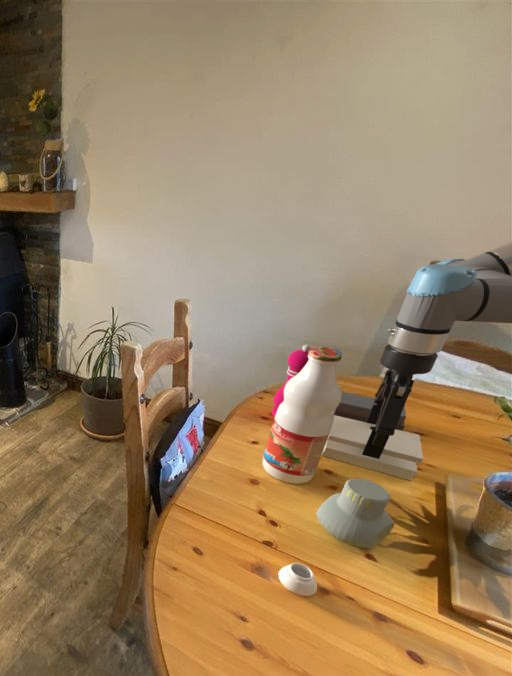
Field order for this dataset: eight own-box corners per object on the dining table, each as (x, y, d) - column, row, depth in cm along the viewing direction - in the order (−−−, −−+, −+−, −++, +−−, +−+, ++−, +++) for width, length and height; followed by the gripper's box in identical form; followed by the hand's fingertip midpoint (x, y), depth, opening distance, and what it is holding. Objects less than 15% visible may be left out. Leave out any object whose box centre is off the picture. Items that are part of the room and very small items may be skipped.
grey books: (399, 421, 102) (407, 404, 100) (400, 435, 98) (409, 417, 95) (333, 406, 110) (339, 390, 108) (331, 419, 105) (338, 402, 103)
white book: (417, 439, 88) (419, 434, 88) (421, 464, 82) (423, 459, 81) (330, 418, 97) (332, 414, 96) (327, 439, 90) (329, 435, 90)
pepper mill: (300, 411, 109) (323, 340, 99) (304, 426, 103) (329, 352, 94) (268, 407, 112) (287, 337, 102) (271, 420, 106) (291, 348, 97)
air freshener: (357, 561, 69) (379, 517, 64) (305, 528, 75) (322, 486, 71) (392, 535, 73) (415, 492, 68) (340, 506, 80) (357, 464, 75)
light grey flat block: (410, 459, 90) (414, 450, 89) (412, 481, 84) (417, 471, 83) (324, 437, 99) (327, 429, 97) (321, 455, 93) (324, 447, 92)
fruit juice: (322, 486, 84) (371, 362, 71) (271, 484, 86) (310, 361, 73) (299, 457, 93) (340, 341, 80) (254, 455, 94) (286, 341, 81)
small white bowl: (278, 589, 65) (317, 602, 63) (283, 577, 64) (323, 590, 62) (277, 565, 69) (314, 577, 67) (282, 553, 68) (319, 564, 65)
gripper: (385, 327, 89) (350, 414, 99) (387, 365, 74) (346, 464, 84) (433, 333, 85) (391, 424, 95) (446, 375, 70) (395, 478, 80)
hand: (370, 443), depth 90 cm, fingers closed on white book, 10 cm apart
